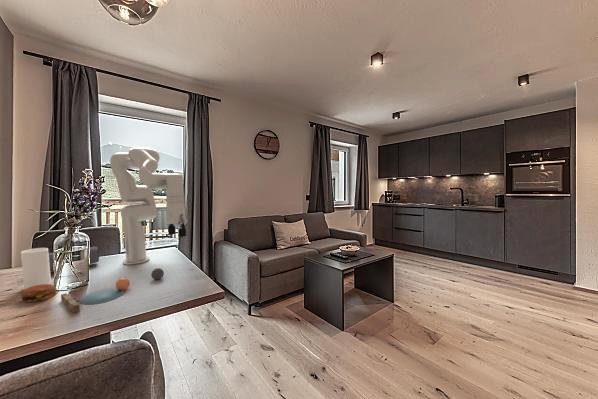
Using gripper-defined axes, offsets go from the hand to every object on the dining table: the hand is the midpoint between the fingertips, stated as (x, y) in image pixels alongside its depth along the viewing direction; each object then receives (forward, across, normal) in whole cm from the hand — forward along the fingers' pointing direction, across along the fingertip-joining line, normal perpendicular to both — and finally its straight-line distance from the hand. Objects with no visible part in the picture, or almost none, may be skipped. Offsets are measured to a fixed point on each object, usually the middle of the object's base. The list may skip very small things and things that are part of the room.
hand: (177, 235), depth 127 cm
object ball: (+16, 0, -24) cm, 29 cm away
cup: (+19, -34, -44) cm, 59 cm away
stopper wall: (+18, 0, -41) cm, 45 cm away
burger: (+19, -19, -46) cm, 53 cm away
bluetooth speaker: (+19, -52, -29) cm, 63 cm away
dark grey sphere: (+16, 0, -10) cm, 19 cm away
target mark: (+18, 0, -31) cm, 36 cm away
